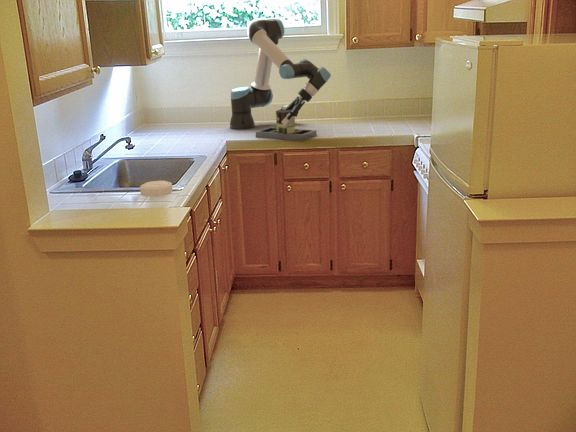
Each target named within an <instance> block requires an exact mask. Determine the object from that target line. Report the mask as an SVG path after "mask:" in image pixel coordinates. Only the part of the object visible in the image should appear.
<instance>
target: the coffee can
mask: <svg viewBox="0 0 576 432" xmlns="http://www.w3.org/2000/svg"><path fill="white" fill-rule="evenodd" d="M290 111H292V110H290V109H285V110H281V109H278V110H275V117H276V120H275V121H276V128H277V133H289V134H290V133H293V132H295V129H296V123H295V122H296V120H295V119H296V118H295V116H293V117H292V118H291V120H290V121H289V122H288V123H287V124H286V125H284V124H283V123H282V121H283V119H284V118H285V117H286V116H287V115H288V114H289V112H290Z"/></svg>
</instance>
